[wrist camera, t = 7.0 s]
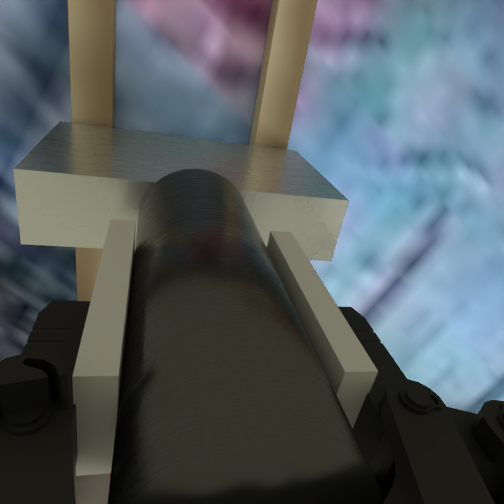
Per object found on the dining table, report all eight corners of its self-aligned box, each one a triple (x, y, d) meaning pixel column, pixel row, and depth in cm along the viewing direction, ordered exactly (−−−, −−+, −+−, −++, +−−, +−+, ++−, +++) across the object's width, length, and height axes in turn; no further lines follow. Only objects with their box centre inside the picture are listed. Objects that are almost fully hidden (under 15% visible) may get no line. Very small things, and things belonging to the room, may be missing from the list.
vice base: (325, 4, 23) (426, -6, 14) (237, 410, 37) (261, 526, 29) (49, -57, 19) (-40, -120, 11) (71, 417, 34) (41, 552, 25)
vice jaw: (298, 138, 24) (634, 421, 7) (283, 207, 26) (517, 557, 9) (59, 107, 21) (-380, 486, 4) (63, 188, 23) (-218, 676, 6)
